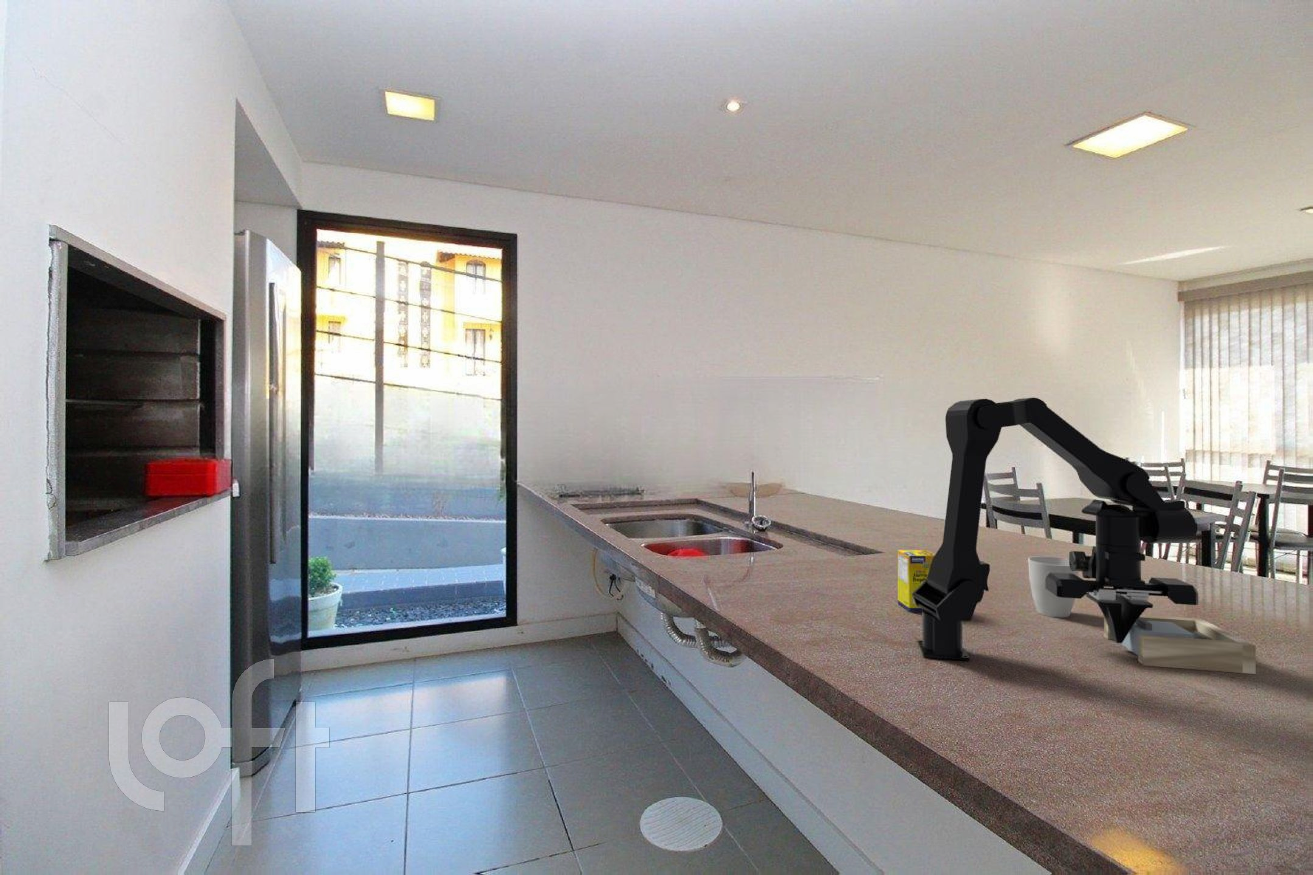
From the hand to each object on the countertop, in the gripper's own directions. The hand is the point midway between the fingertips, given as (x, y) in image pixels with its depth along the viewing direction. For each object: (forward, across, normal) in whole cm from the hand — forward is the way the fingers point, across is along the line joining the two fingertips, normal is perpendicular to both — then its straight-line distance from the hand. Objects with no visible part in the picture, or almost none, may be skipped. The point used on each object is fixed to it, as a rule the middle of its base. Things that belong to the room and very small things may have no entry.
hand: (1117, 642), depth 96 cm
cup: (+1, +3, -19) cm, 19 cm away
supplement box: (+1, +27, -17) cm, 32 cm away
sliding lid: (+1, -5, 0) cm, 5 cm away
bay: (+1, -7, 0) cm, 7 cm away
